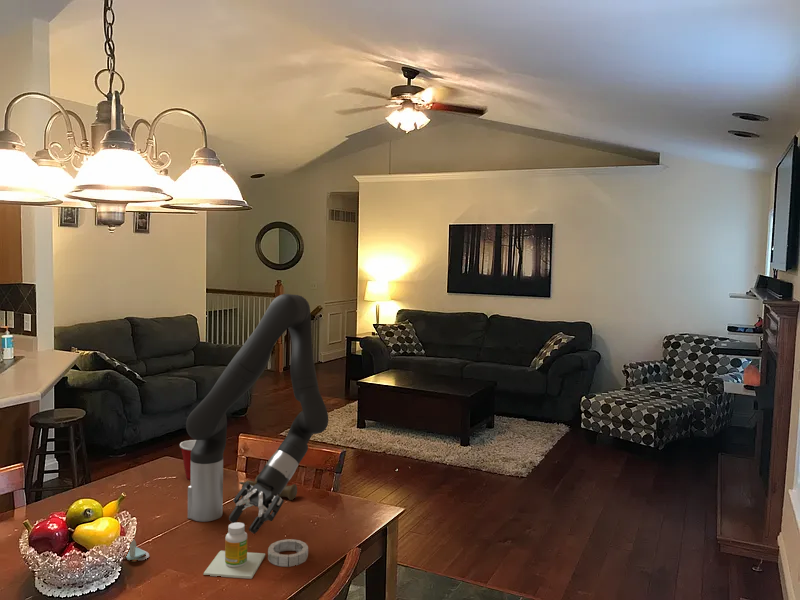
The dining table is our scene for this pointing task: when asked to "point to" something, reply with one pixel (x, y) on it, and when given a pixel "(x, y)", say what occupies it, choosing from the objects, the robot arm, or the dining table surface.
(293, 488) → the kendama
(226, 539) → the supplement bottle
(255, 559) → the sage mat
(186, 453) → the plastic cup
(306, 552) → the white segmented ring
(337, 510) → the dining table surface
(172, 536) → the dining table surface
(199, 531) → the dining table surface
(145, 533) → the dining table surface
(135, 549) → the pacifier
